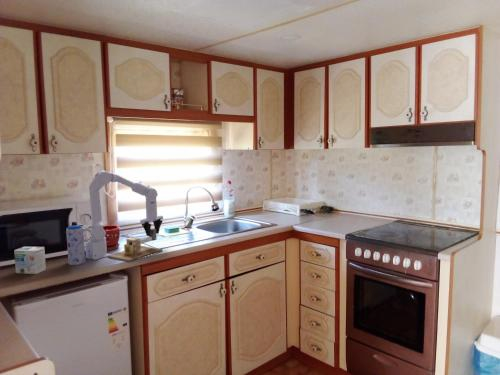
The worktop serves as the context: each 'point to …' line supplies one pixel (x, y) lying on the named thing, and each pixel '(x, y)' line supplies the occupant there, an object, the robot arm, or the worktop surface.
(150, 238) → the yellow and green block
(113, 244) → the plant pot
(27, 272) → the light bulb box
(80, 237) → the patterned water bottle
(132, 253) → the brass spacer
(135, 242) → the bearing stand
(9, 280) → the worktop surface
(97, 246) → the robot arm
